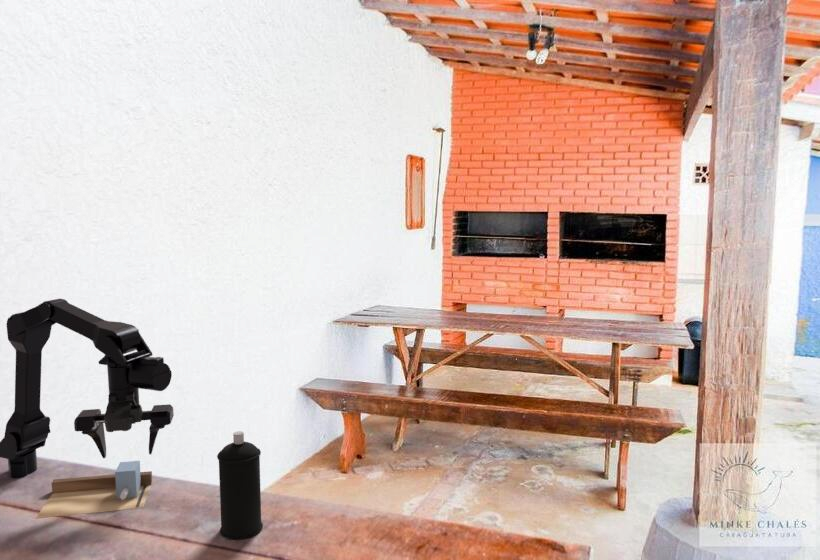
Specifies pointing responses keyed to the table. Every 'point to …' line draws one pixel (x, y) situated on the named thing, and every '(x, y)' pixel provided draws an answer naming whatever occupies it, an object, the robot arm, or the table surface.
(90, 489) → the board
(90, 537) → the table surface
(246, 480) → the aerosol can
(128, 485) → the block
